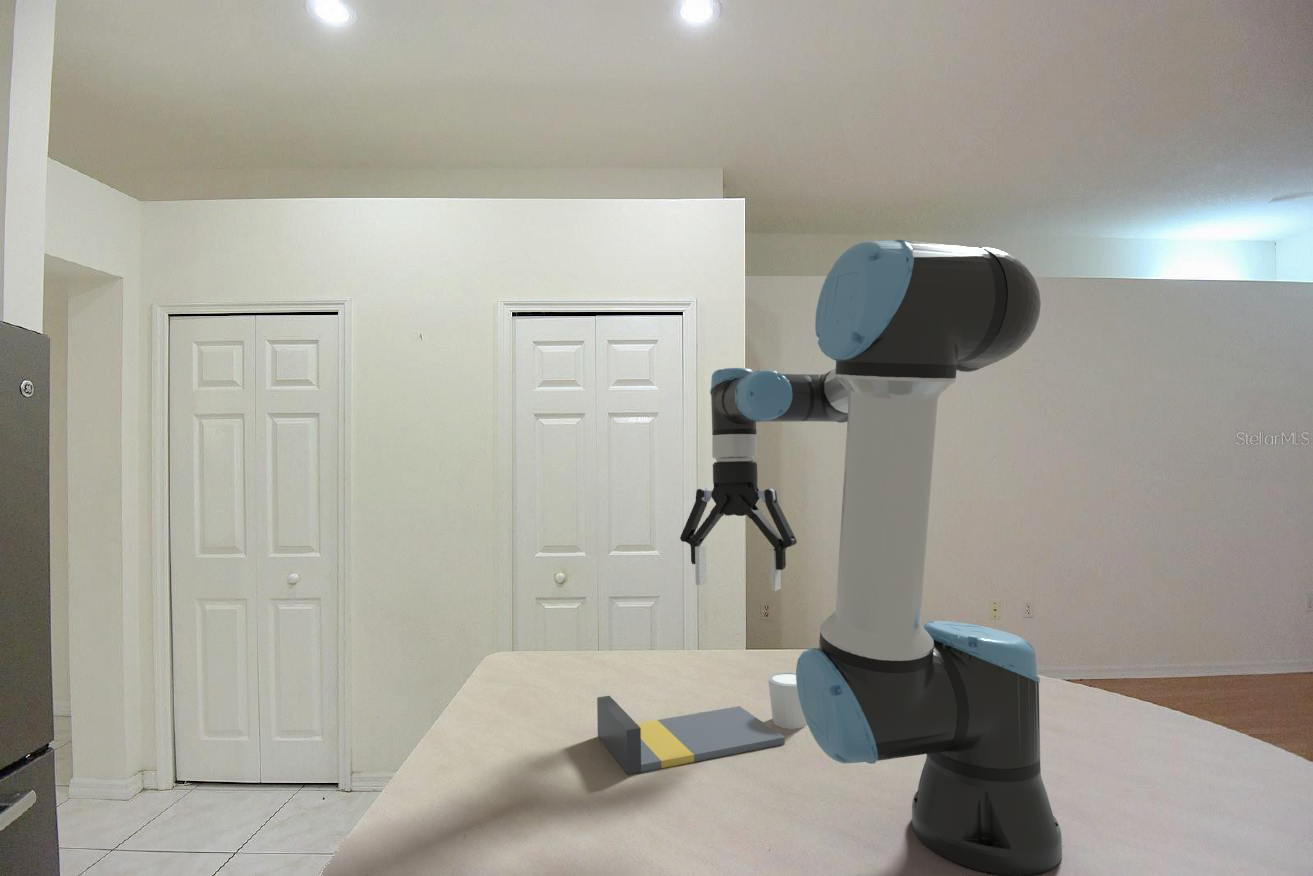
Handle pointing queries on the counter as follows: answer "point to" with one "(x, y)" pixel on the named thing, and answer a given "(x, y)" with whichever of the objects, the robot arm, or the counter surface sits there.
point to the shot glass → (785, 701)
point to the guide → (679, 736)
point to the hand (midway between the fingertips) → (737, 586)
